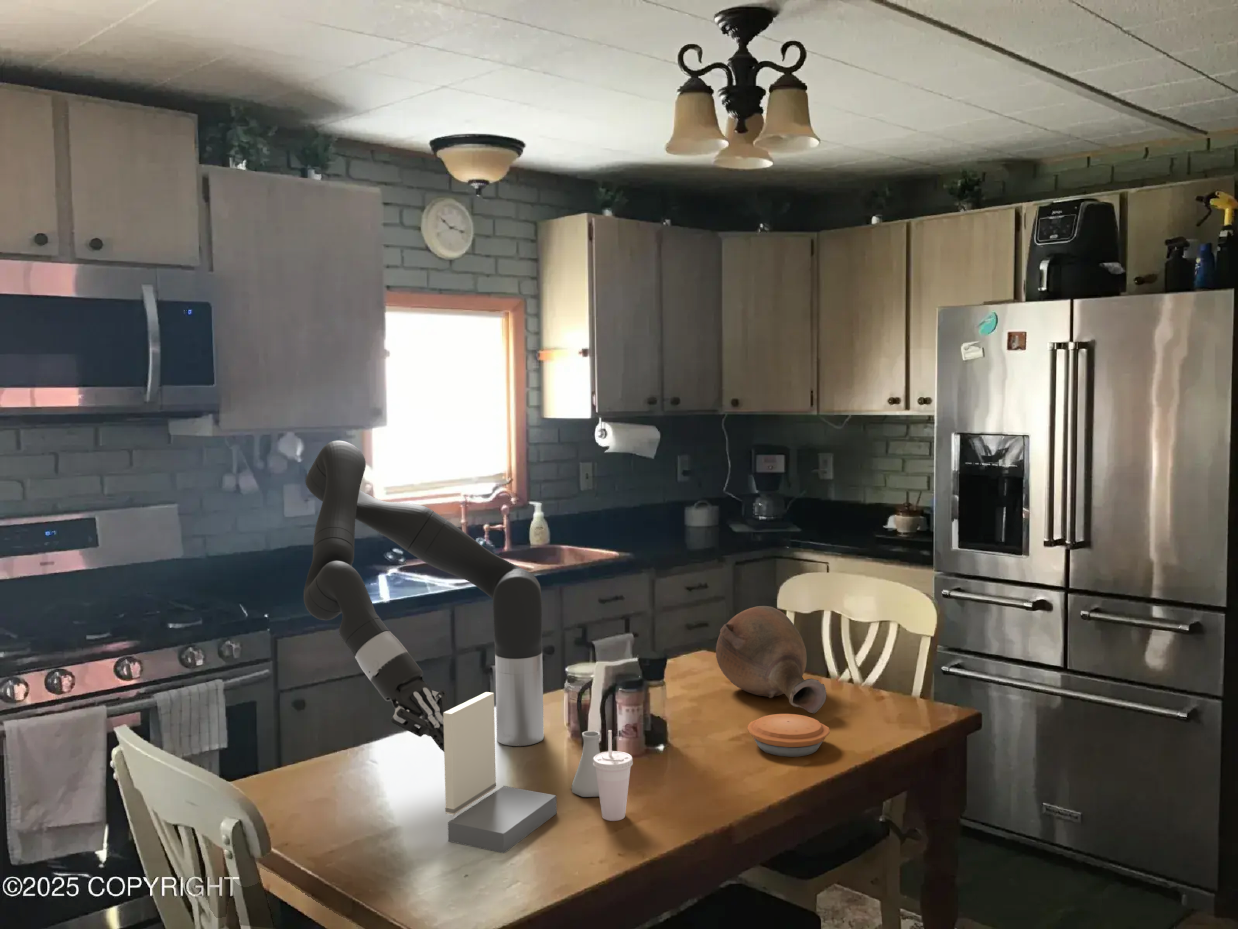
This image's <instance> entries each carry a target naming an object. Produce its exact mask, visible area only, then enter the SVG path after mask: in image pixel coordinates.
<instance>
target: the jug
mask: <svg viewBox="0 0 1238 929" xmlns="http://www.w3.org/2000/svg"><path fill="white" fill-rule="evenodd" d="M719 632H720V633H719V635H718V639H717V641H716V646H715V657H716V661H717V663H718V667H719V669H720V670H721V672H722V674H723V675H724V676H725V677H726V679H727V680H729V681H730V682H731V683H732V684H733V685H734V686H736V687H737V688H738V689H741V690H742V691H744V692H747V693H750V694H752V695H756V696H759V697H768V698H770V699H773V697H777V696H778V697H779V696H782V695H783V694H785V696H786V697H787V699H788V702H789V704H790V705H791V706H792V707H795V708H801V709H803V710H805V711H807V713H811V714H815V713H818V711H820V709H821V708H822V707H823V705H824V704H825V703H826V701H827V700H826V699H827V689H826V685H825V684H824V683H821V682H820V680H819V679H814V678H806V679H804V678H803V676H804V673H805V671H806V668H807V661H808V660H807V659H808V658H807V656H808V655H807V649H806V646H805V643H804V639H803V637H802V635H801V633H800V632H799V630H798V628H797V627H796V625H795V624H794V623H793V622H792V620H791V619H790V618H789V616H787V615H786V614H785V613H784V612H782V611H781V610H780V609H778V608H775V607H774V606H767V605H759V606H758V605H757V606H754V607H749V608H746V609H745V610H742V611H741V612H739V613H737V614H736V615H734V616H733V617H732V618H730V620H728V622H727V623H725V624H723V625H722V627H721V628H720V630H719Z"/></svg>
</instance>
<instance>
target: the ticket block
mask: <svg viewBox="0 0 1238 929" xmlns="http://www.w3.org/2000/svg"><path fill="white" fill-rule="evenodd" d="M557 808H558V807H557V795H555V794H550V793H546V792H539V791H534V790H527V789H525V788H523V789H522V788H517V787H511V786H506V785H503V786H501V787H500V788H499V789H497V790H495V791H494V792H492V793H491V794H489V795H488V796H485V797H484V798H483V799H481V800H480V801H478V802H477V803H475V804H474V805H472V806H471V807H469V808H467V809H466V810H465V811H463V812H461V813H460V814H459V815H457V816H455V817H454V818H452V819H451V820H449V821H448V822H447V837H448V838H447V840H448V842H451V843H455V844H460V845H465V846H470V847H473V848H479V849H483V850H487V851H493V852H496V853H501V854H505V853H507V852H508V851H509V850H510V849H512V848H513V847H514V846H515V845H517V844H518V843H520V842H521V841H522V840H523V839H525V838H526V837H527V836H529V835H530V834H531V833H532V832H534V831H535V830H537V829H538V828H539V827H541V826H542V825H543V824H545V823H546V822H547V821H548V820H550V819H551V818H552V817H554V816H555V815H556V814H557Z"/></svg>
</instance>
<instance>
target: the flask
mask: <svg viewBox="0 0 1238 929" xmlns="http://www.w3.org/2000/svg"><path fill="white" fill-rule="evenodd" d="M581 737H582V739H583V747H582V751H581V752H582V754H581V757H580V760H579V762H578V767H577V769H576V771H575V774H574V778H573V780H572V784H571V793H573V794H575V795H577V796H580V797H582V798H591V797H599V789H598V782H597V775H596V767H595V766H594V765H593V762H594V760H593V758H594V756H595V755H597V754H599V753H601V751H600V743H599V741H600V740H599V739H600V738H601V732H599V731H597V730H586V731H583V732H581Z"/></svg>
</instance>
